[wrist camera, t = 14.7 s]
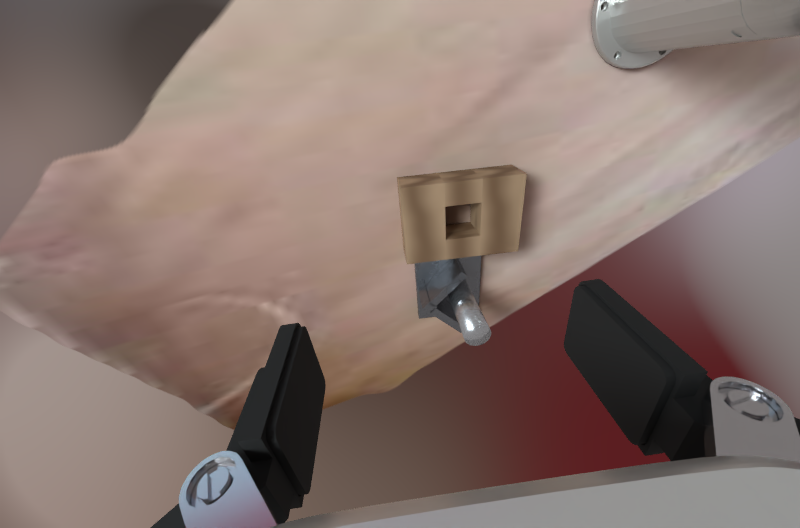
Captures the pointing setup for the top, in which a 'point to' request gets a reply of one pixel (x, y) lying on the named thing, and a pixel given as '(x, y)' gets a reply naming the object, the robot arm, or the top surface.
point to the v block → (445, 286)
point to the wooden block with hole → (482, 188)
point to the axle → (469, 315)
